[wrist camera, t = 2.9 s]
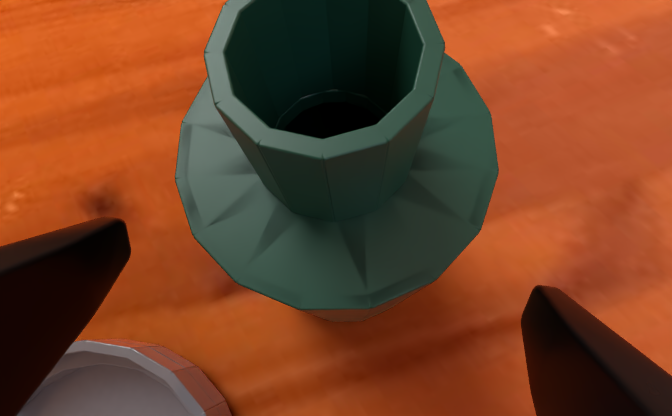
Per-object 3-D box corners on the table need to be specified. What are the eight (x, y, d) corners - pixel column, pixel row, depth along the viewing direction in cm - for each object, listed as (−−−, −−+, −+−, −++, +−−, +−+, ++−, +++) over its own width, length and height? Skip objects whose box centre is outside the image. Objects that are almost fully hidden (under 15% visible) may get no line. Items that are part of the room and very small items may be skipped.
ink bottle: (347, 354, 17) (322, 434, 4) (247, 250, 19) (-9, 60, 6) (445, 247, 19) (678, 34, 5) (344, 157, 20) (323, -184, 7)
